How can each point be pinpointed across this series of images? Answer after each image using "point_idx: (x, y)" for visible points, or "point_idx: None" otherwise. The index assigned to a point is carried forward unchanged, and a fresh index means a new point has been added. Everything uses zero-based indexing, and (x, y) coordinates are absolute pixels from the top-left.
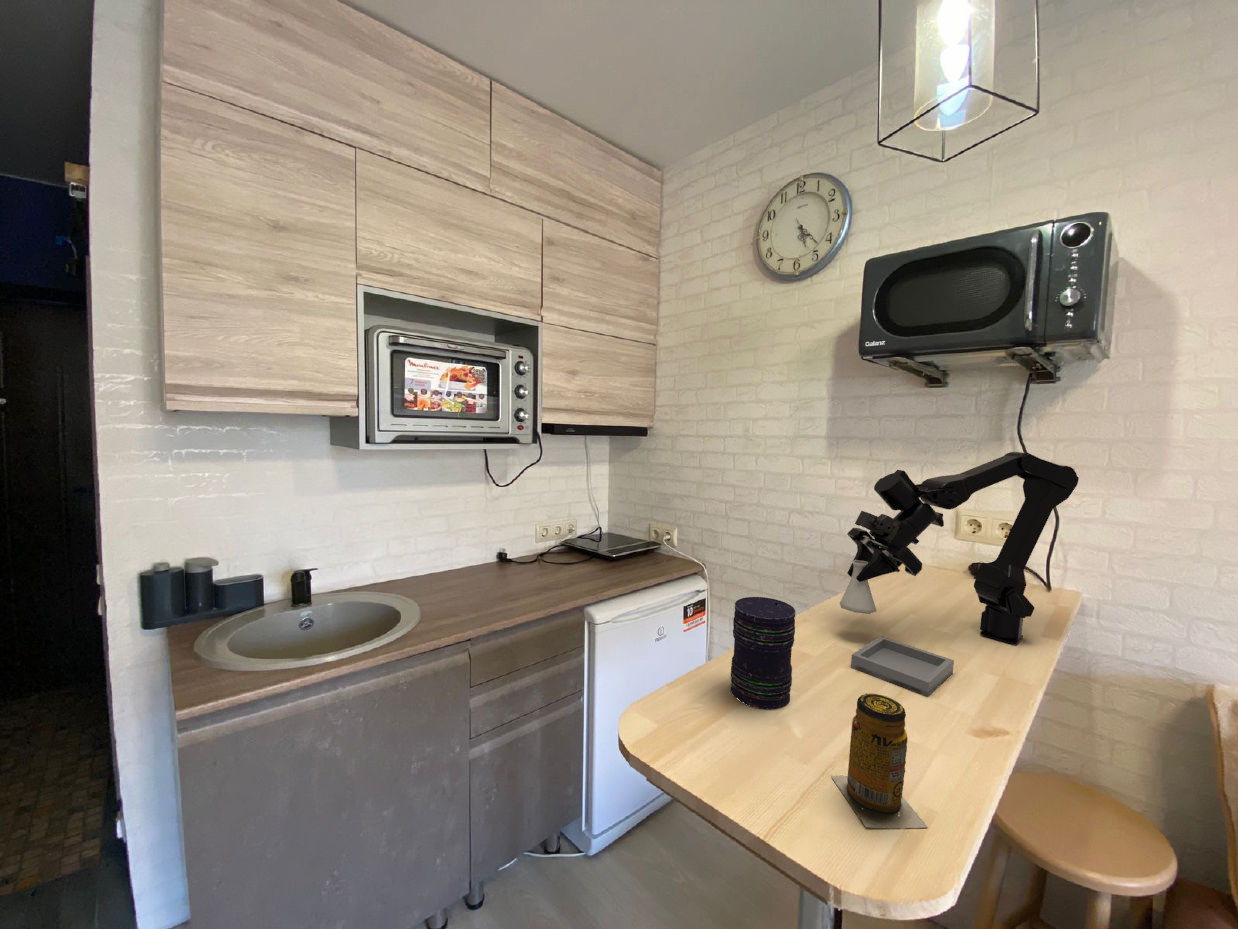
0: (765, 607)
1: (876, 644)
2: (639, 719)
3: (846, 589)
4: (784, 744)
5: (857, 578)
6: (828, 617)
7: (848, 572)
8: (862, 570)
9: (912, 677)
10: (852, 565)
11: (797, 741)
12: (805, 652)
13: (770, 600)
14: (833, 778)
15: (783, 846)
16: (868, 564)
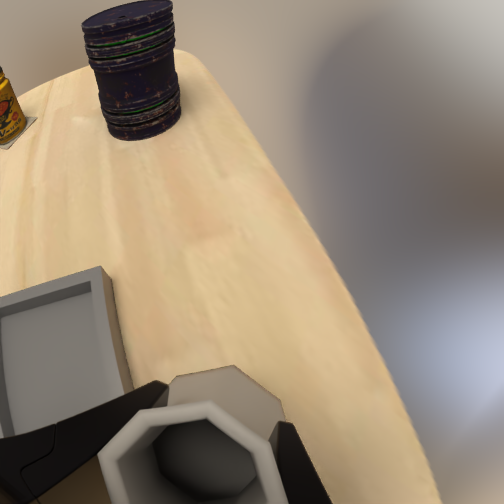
0: (126, 12)
1: (107, 380)
2: (175, 52)
3: (263, 411)
4: (77, 106)
5: (152, 382)
6: (373, 458)
7: (283, 424)
8: (122, 416)
9: (1, 297)
10: (293, 469)
11: (71, 114)
12: (206, 242)
13: (140, 15)
14: (35, 117)
15: (44, 84)
16: (61, 446)
